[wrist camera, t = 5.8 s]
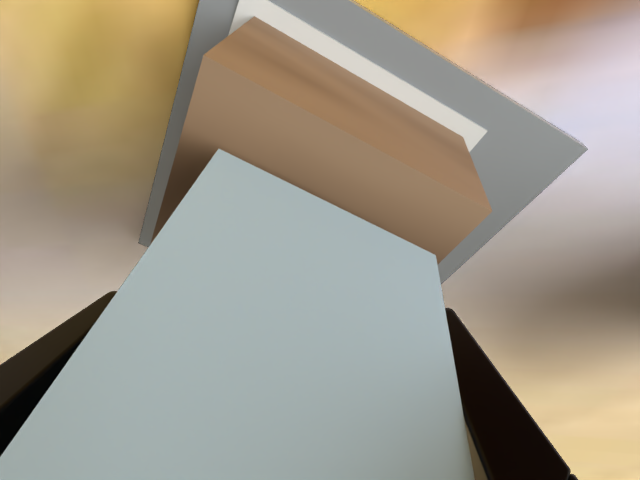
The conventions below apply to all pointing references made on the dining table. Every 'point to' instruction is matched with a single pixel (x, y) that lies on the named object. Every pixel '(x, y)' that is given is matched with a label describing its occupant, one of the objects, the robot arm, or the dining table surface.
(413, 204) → the walnut base
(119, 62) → the dining table surface
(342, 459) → the blue block
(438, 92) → the build board
